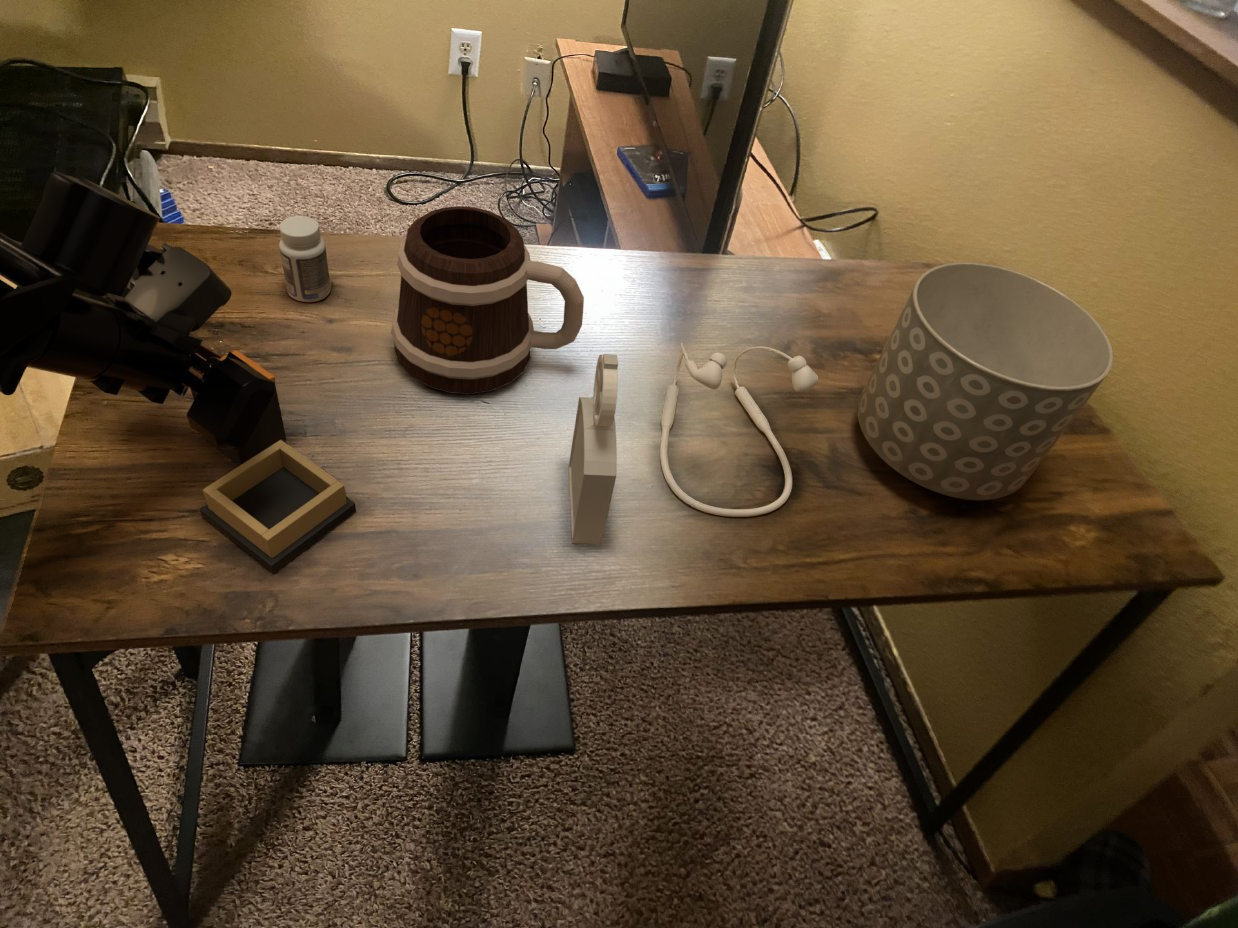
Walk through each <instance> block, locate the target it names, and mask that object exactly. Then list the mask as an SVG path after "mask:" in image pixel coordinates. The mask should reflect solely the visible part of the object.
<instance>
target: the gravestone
mask: <svg viewBox="0 0 1238 928" xmlns="http://www.w3.org/2000/svg"><path fill="white" fill-rule="evenodd" d="M618 360H619V359H618V354H613V353H612V354H611V353H610V354H609V353H603V354H599V355H598V357H597V361H596V367H595V373H594V383H593V397H588V396H578V403H577V408H576V409H577V410H576V416H575V423H574V428H573V435H572V442H571V448H570V453H569V461H568V482H569V483H568V487H569V506H570V507H569V508H570V509H569V513H570V531H571V533H570V534H571V535H570V536H571V544H583V545H584V544H585V545H587V544H588V545H602V544H603V540H604V535H605V530H606V525H607V521H608V516H609V511H610V508H611V503H612V498H613V493H614V488H615V484H616V479H617V472H618V471H617V469H618V467H617V466H618V447H617V446H618V445H617V444H618V443H617V428H616V427H617V426H616V418H615V417H616V416H615V415H616V409H617V401H618V390H619V389H618V388H619V370H618V369H619V361H618Z"/></svg>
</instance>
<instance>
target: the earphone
mask: <svg viewBox="0 0 1238 928" xmlns="http://www.w3.org/2000/svg"><path fill="white" fill-rule="evenodd" d="M679 345H680V346H679V347H680V354H679V359H678V363H677V365H676V370H675V374H674V378H673V381H672V383H671V384H669V385H667V387H666V392H665V395H664V396H665V397H664V402H663V409H662V414H661V418H660V423H661V429H662V430H661V439H660V448H659V456H660V464H661V470H662V473H663V475H664V478H665V481H666V482H667V485H668V486H669V487H670V489H671V491H672V492H673V493H674V494H675V495H676V496H677V497H678V498H679V499H680V500H681V501H682V502H684V503H685V504H687V505H689V506H690V507H692V508H694V509H696V510H699V511H701V512H703V513H707V514H711V515H716V516H722V517H732V518H741V517H743V518H744V517H756V516H761V515H765V514H769V513H772V512H773V511H775V510H777V509H779V508H781V507H782V506H783V505H784V504H785V503H786V502H787V500H788V499H789V497H790V495H791V494H792V489H793V474H792V469H791V465H790V462H789V459H788V458H787V455H786V453H785V451H784V449H783V447H782V446H781V444H780V442H779V441H778V439H777V438H776V436H775V434H774V433H773V431H772V430H771V426H770V423H769V420H768V419H767V417H766V416H765V415H764V413H763V412H762V410H761V409H760V407H759V406H758V404H757V403H756V401H755V400H754V398H753V397H752V395H751V394H750V392H749V390H748V389H747V388H746V387H745V386H740V385H739V382H738V379H737V375H736V365H737V363H738V360H739V359H740V358H741V357H742V356H743V355H744V354H746V353H749V352H750V351H754V350H765V351H769V352H771V353H775V354H778V355H780V356H782V357H783V358H785V359H786V360H788V362H787V367H788V370H789V371H790V372H791V385H792V388H793V389H794V391H795V392H798V393H803V392H806V391H809V390H811V389H812V388H813V387H815V386H816V385H817V384H818V382H819V377H818V374H817V373H816V372H815V371H814V370H812V368H811V366H809V365H808V364H807V360H806V358H804V356H801V355H795V356H794V357H791V356H790V355H788V354H786V353H784V352H783V351H781V350H778V349H775V348H773V347H770V346H769V347H768V346H761V345H760V346H759V345H758V346H757V345H756V346H751V347H748V348H745V349H744V350H742V351H741V352H740V353H738V355H736V357H735V358H734V360H733V363H732V377H733V382H734V385H735V387H736V389H735V391H734V394H735V396H736V398H737V399H738V400H739V402H740V404H741V405H742V406H743V408H744V409H745V411H746V413H747V414H748V415H749V417H750V418H751V420H752V422H753V423H754V424H755V426H756V427H757V429H759V430H760V431H761V432H762V433H763V434H765V436H766V438H767V439H768V441H769V443H770V445H771V446H772V448H773V449H774V451H775V452H776V454H777V456H778V458H779V461H780V463H781V466H782V469H783V473H784V474H783V475H784V487H783V491H782V493H781V495H780V496H779V497H778V498H777V499H776V500H774V501H773V502H771V503H769V504H766V505H764V506H760V507H754V508H739V509H737V508H724V507H718V506H712V505H708V504H706V503H703V502H701V501H698V500H696V499H695V498H693V497H691V496H690V495H689V494H687V493H686V492H685V491H684V490H682V489H681V487H680V486H679V484H678V483H677V482H676V480H675V478H674V476H673V474H672V472H671V468H670V465H669V464H670V463H669V459H668V445H669V438H670V430H671V428H672V426H673V424H674V420H675V414H676V407H677V402H678V398H679V397H678V396H679V389H680V388H679V386H678V385H676V383H677V380H678V376H679V373H680V370H681V369H680V368H681V364H682V361H683V357H684V359H685V361H686V362H685V368H686V370H687V371H688V373H689V375H690V377H691V378H692V379H693V380H695V381H696V382H698V383H700V384H701V385H703V386H705V387H707V388H709V389H710V390H717V389H719V388H720V386H721V384H722V381H723V380H722V379H723V370H724V369H725V367H726V366H727V364H728V358H727V357H726V355H725V354H724V353H722V352H718V351H716V352H714V353H713V354H712V355H710V357H709V359H708V361H706V363H705V364H704V365H703V366H702V367H700V368H699V367H698V366H697V364H696V362H695V361H694V360H693V359H690V358H689V356H688V354H687V352H686V349H685V345H684V343H683V342H680V344H679Z"/></svg>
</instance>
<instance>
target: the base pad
mask: <svg viewBox="0 0 1238 928" xmlns="http://www.w3.org/2000/svg"><path fill="white" fill-rule="evenodd" d="M202 492H203V495H204V498H205V501H206V504H205V505H203V506H202V507H200V508H199V512H200V515H201V517H202V519H204V520H205V521H206V522H207V523H209V524H210V525H211V526H213V527H214V528H215V529H216V530H218V532H220V533H221V534H222V535H223V536H225V537H226V538H227V539H229V540H230V541H231V542H233V543H234V544H235V545H236V546H237V547H238V548H240V549H241V550H243V552H245V553H246V554H248V555H249V556H250V557H251V558H253V559H254V560H255V561H256V562H258V563H259V564H260V565H261V566H263V567H264V569H267V570H268V571H269V572H271V573H272V574H273V575H275V574H276V573H277V572H279V571H280V570H281V569H283V568H284V567H285V566H287V565H288V564H290V563H291V562H292V561H293V560H295V559H296V558H297V557H298V556H300V555H301V554H302V553H303V552H305V551H306V550H308V549H309V548H310V547H312V546H313V545H314V544H316V543H317V542H318V541H320V540H321V539H322V538H324V537H325V536H327V535H328V534H329V533H330V532H331V531H333V530H335V528H337V527H338V526H339V525H341V524H342V523H343V522H345V521H346V520H347V519H349V518H350V517H351V516H353V515H354V514H355V513H357V506H356V503H355V502H354V501H353V500H352V499H350V498H348V497H347V496H346V489H345V484H343V483H342V482H340V481H339V480H338V479H336V478H335V477H334V476H332V475H331V474H330V473H328V472H327V471H325V470H324V469H323V468H321V467H320V466H318V465H317V464H316V463H314V462H313V461H311V460H310V459H309V458H308V457H306V456H304V455H303V454H301V453H300V452H299V451H297V450H296V449H295V448H294V447H292V446H290V445H289V444H288V443H286V442H285V441H282V440H279V441H278V442H276V443H275V444H273V445H272V446H270V447H269V448H267V449H265V450H264V451H262V452H261V453H259V454H258V455H256V456H254V457H253V458H251V459H250V460H248V461H247V462H245V463H244V464H242V465H240V466H239V465H238V466H237V467H236V468H234V469H232V470H231V471H230V472H227V473H226V474H225V475H223V476H222V477H220V478H219V479H217V480H215V481H213V482H212V483H210V484H209V485H208V486H206V487H204V488H203V489H202Z"/></svg>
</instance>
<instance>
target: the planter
mask: <svg viewBox="0 0 1238 928" xmlns="http://www.w3.org/2000/svg"><path fill="white" fill-rule="evenodd" d="M1113 363H1114V350H1113V347H1112V344H1111V341H1110V339H1109V336H1108V335H1107V333H1106V332H1105V330H1104V328H1103V327H1102V326H1101V325H1100V324H1099V322H1098V321H1097V320H1096V318H1094V317H1093V316H1092V315H1091V314H1090V313H1089V312H1088V311H1087V310H1086V309H1085V308H1084V307H1082V305H1080V304H1079V303H1077V302H1076V301H1075V300H1074V299H1073V298H1071V297H1069V296H1068V295H1066V294H1065V293H1063V292H1062V291H1060V290H1058V289H1057V288H1054V287H1053V286H1052V285H1049V284H1047V283H1046V282H1043V281H1041V280H1039V279H1037V278H1035V277H1032V276H1030V275H1027V274H1025V273H1022V272H1018V271H1016V270H1012V269H1010V268H1006V267H1003V266H997V265H993V264H989V263H981V262H970V261H969V262H968V261H967V262H966V261H965V262H961V261H960V262H949V263H945V264H940V265H938V266H935V267H932V268H930V269H928V270H926V271H924V273H923V274H921V275H920V277H918V278H917V280H916V282H915V284H914V285H913V288H912V290H911V292H910V293H909V296H908V298H907V300H906V302H905V304H904V306H903V308H902V310H901V313H900V314H899V317H898V319H897V321H896V323H895V325H894V326H893V329H892V330H891V333H890V334H889V337H888V338H887V341H886V343H885V345H884V347H883V349H882V351H881V353H880V355H879V358H878V360H877V362H876V364H875V366H874V368H873V370H872V371H871V374H870V376H869V378H868V380H867V382H866V383H865V385H864V388H863V390H862V391H861V394H860V396H859V399H858V402H857V409H856V410H857V411H856V412H857V420H858V421H857V422H858V423H859V427H860V430H861V432H862V434H863V436H864V438H865V440H866V441H867V443H868V444H869V446H870V447H871V448H872V450H873V451H874V452H875V453H876V454H877V456H879V457H880V458H881V460H882V461H884V463H886V464H887V465H888V466H889V467H890V468H892V469H893V470H894V471H895V472H896V473H898V474H900V475H901V476H903V477H904V478H906V479H907V480H909V481H911V482H912V483H914V484H916V485H918V486H920V487H923V488H924V489H927V490H929V491H932V492H935V493H937V494H941V495H944V496H947V497H951V498H954V499H960V500H967V501H968V500H969V501H990V500H991V501H992V500H997V499H1000V498H1001V499H1002V498H1004V497H1007V496H1009V495H1011V494H1014V493H1015V492H1017V491H1018V490H1020V488H1022V487H1023V486H1024V485H1025V484H1026V482H1027V481H1028V480H1029V479H1030V477H1031V476H1032V475H1033V473H1034V472H1035V471H1036V469H1037V468H1038V466H1039V465H1040V464H1041V462H1042V461H1043V460H1044V459H1045V457H1046V456H1047V455H1048V453H1049V452H1050V451H1051V450H1052V448H1053V447H1054V446H1055V444H1056V443H1057V442H1058V440H1059V439H1060V438H1061V436H1062V435H1064V433H1065V431H1066V430H1067V429H1068V427H1069V426H1070V425H1071V423H1072V422H1073V421H1074V419H1075V418H1076V417H1077V415H1078V414H1079V413H1080V412H1081V410H1082V409H1083V407H1084V406H1085V405H1086V404H1087V402H1088V401H1089V399H1090V398H1091V397H1092V396H1093V395H1094V393H1095V392H1096V391H1097V389H1098V388H1099V386H1100V385H1102V383H1103V381H1104V380H1105V379H1106V377H1107V376H1108V375H1109V373H1110V372H1111V370H1112V368H1113Z"/></svg>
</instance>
